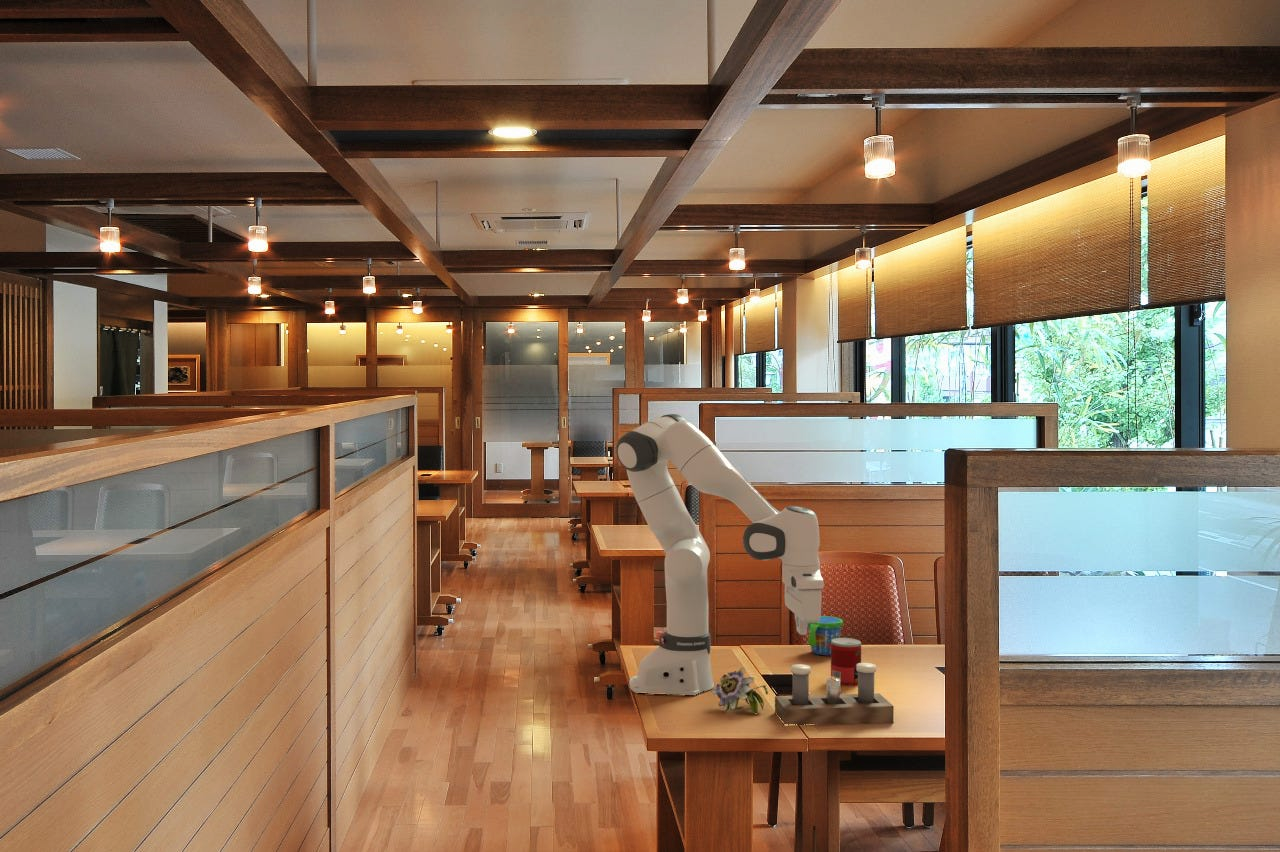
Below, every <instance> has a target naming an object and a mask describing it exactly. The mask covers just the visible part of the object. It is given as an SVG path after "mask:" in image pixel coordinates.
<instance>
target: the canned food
mask: <svg viewBox="0 0 1280 852" xmlns="http://www.w3.org/2000/svg"><path fill="white" fill-rule="evenodd" d="M858 663H862V641H860V640H859V639H856V638H851V637H850V638H849V637H840V638H835V639H832V640H831V655H830V677H831V676H833V677H834V678H839V679H840V686H856V685H857V686H858V671H857V670H856V665H857V664H858Z"/></svg>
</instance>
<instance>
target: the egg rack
mask: <svg viewBox="0 0 1280 852" xmlns="http://www.w3.org/2000/svg"><path fill="white" fill-rule="evenodd" d="M894 711H895V710H894V705H893V704H892V703H891V702H890V701H889V700H887V699H886V698H885V697H884V696H883V695H882V694H881V693H875V692H874V703H866V704H859V703H858V693H848V694H847V693H845V694H842V693H840V704H830V705H827V694H813V695H812V694H811V695H810V694H809V705H795V706H793V705H792V695H777V696H776V695H775V696H774V713H775V712H776V713H777V715H778V716H779V717H780V718H781V720H782V721H783V722H784V724H788V725H789V724H795V725H796V724H797V725H804V724H805V725H806V724H815V725H814V726H836V725H837V726H839V725H869V724H872V725H873V724H894ZM776 713H775V714H776ZM777 715H776V716H777ZM778 716H777V717H778ZM781 720H780V721H781ZM784 724H783V725H784ZM816 724H817V725H816ZM838 724H839V725H838Z"/></svg>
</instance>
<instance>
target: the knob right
mask: <svg viewBox="0 0 1280 852" xmlns="http://www.w3.org/2000/svg"><path fill="white" fill-rule="evenodd" d="M856 670H857V671H858V684H857V694H858V703H859V704H866V703H874V694H875V673H876V672H877V665H876V664H874V663H871V662H870V663H869V662H861V663H858V664H857V665H856Z"/></svg>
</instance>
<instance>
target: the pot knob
mask: <svg viewBox="0 0 1280 852" xmlns="http://www.w3.org/2000/svg"><path fill="white" fill-rule="evenodd" d="M840 694H841V685H840V679H839V678H834V677H833V676H831V675H830V677H827V678H826V695H827V705H830V704H840Z"/></svg>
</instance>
